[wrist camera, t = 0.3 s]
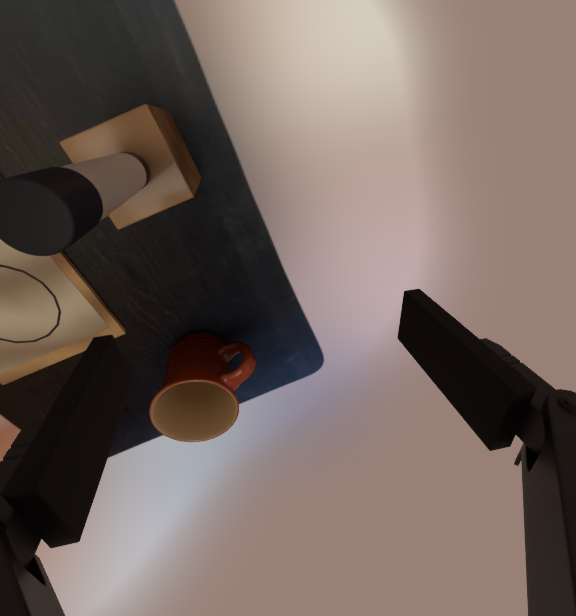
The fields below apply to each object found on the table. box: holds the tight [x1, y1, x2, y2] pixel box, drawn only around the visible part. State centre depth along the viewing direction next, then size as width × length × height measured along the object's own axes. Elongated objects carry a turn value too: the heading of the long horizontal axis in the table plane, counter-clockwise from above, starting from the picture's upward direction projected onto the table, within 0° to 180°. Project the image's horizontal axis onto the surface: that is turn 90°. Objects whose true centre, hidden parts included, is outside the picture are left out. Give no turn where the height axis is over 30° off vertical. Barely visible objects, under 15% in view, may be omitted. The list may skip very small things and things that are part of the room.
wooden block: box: [59, 104, 201, 229], centre depth 25 cm, size 6×6×10 cm
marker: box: [0, 152, 150, 256], centre depth 16 cm, size 2×2×13 cm
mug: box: [149, 332, 256, 442], centre depth 36 cm, size 12×9×10 cm
